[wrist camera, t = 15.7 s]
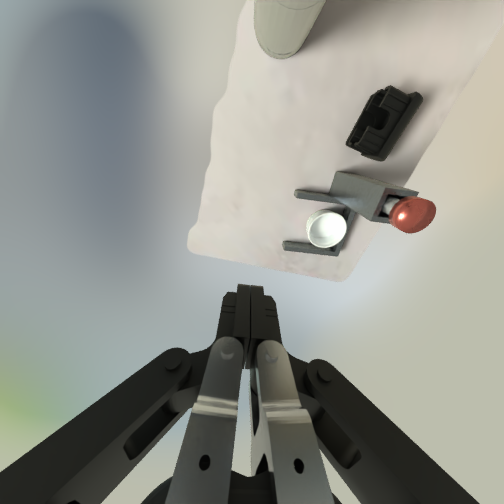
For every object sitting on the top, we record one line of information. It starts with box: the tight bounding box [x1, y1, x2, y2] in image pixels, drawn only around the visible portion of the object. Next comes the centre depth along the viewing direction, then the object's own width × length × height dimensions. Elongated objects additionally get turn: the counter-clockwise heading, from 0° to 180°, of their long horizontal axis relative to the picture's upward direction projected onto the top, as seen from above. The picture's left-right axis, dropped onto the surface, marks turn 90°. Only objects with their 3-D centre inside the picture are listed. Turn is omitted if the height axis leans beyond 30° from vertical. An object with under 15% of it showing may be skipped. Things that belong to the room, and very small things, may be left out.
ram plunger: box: [381, 195, 436, 233], centre depth 29 cm, size 4×4×11 cm
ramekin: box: [306, 210, 347, 248], centre depth 47 cm, size 9×9×4 cm
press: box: [282, 172, 419, 256], centre depth 39 cm, size 19×14×18 cm
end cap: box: [346, 85, 423, 161], centre depth 36 cm, size 10×7×7 cm
